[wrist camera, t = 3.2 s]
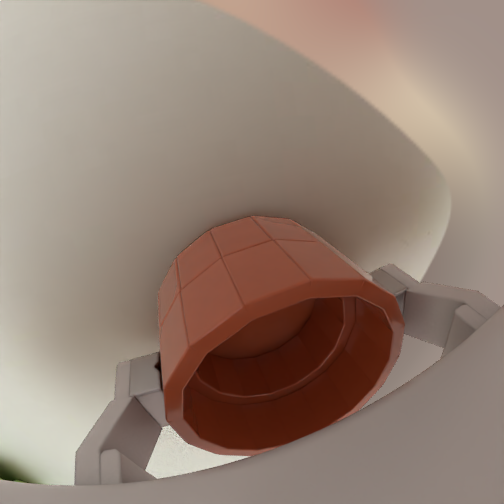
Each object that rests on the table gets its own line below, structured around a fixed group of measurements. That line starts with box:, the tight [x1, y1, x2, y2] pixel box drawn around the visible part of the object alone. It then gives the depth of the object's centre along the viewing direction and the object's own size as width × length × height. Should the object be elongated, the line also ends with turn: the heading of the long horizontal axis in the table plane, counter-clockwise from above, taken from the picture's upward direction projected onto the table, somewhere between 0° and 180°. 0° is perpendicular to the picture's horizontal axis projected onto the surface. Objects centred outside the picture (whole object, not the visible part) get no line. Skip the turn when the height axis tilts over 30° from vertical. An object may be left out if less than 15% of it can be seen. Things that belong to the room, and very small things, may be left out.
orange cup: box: [158, 216, 405, 456], centre depth 9 cm, size 7×7×5 cm
